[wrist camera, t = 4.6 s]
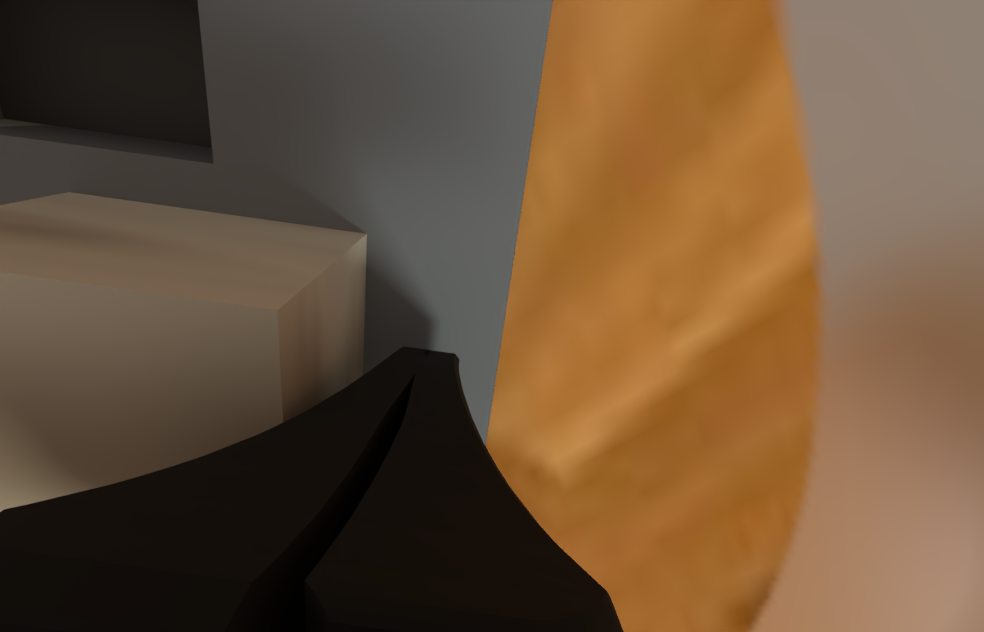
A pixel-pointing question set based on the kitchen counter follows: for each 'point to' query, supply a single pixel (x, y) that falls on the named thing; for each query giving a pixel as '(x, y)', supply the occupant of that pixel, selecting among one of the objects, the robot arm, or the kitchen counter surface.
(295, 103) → the board
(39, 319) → the beech block
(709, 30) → the kitchen counter surface
